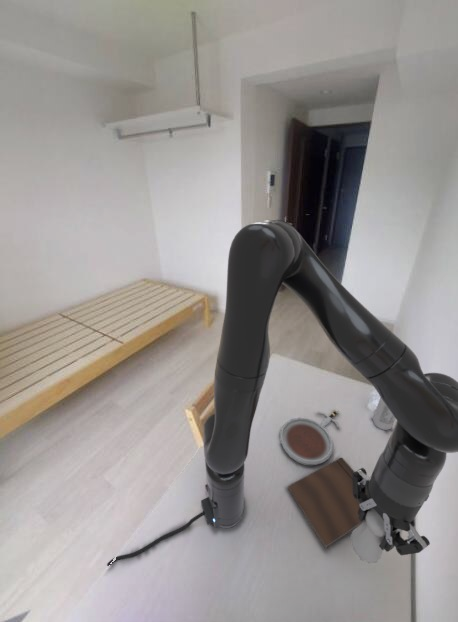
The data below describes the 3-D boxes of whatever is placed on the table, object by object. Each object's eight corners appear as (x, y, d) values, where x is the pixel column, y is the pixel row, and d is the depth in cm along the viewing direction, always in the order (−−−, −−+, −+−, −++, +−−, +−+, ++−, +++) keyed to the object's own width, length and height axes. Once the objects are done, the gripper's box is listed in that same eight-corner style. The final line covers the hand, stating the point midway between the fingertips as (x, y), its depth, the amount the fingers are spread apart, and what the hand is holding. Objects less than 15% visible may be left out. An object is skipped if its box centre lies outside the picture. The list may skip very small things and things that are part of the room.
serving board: (325, 548, 65) (326, 545, 64) (288, 488, 77) (288, 485, 76) (383, 509, 72) (384, 505, 71) (341, 460, 84) (342, 456, 83)
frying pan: (360, 422, 94) (313, 473, 78) (358, 428, 95) (311, 480, 79) (318, 394, 105) (269, 434, 89) (316, 400, 106) (268, 440, 91)
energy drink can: (388, 418, 98) (400, 388, 90) (393, 433, 92) (406, 401, 85) (370, 415, 99) (381, 385, 92) (374, 429, 94) (385, 398, 87)
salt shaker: (370, 532, 59) (387, 501, 53) (384, 566, 54) (405, 537, 48) (343, 533, 59) (358, 501, 52) (355, 567, 54) (373, 538, 47)
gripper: (349, 452, 48) (331, 503, 57) (429, 540, 37) (393, 589, 45) (378, 437, 51) (358, 488, 59) (461, 515, 40) (422, 565, 48)
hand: (373, 531), depth 52 cm, fingers closed on salt shaker, 4 cm apart
